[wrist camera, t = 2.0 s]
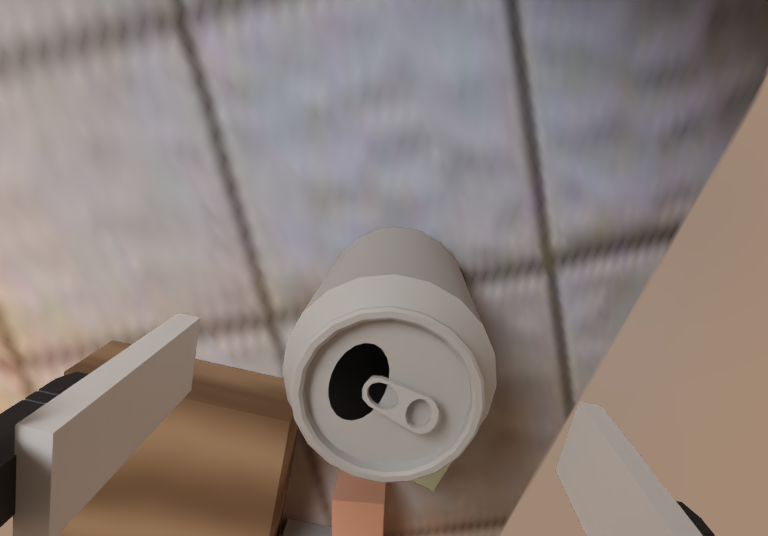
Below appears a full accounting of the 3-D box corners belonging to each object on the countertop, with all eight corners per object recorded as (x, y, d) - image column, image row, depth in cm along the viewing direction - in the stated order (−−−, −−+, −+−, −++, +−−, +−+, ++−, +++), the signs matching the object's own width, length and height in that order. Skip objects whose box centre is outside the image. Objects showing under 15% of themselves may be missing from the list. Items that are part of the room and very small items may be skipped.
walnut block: (112, 340, 28) (64, 371, 24) (306, 383, 28) (289, 421, 24) (102, 502, 31) (57, 553, 27) (276, 541, 31) (257, 597, 27)
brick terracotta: (339, 465, 29) (331, 500, 26) (386, 468, 29) (384, 504, 26) (338, 542, 31) (331, 582, 28) (383, 545, 31) (380, 586, 28)
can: (357, 204, 25) (311, 252, 13) (485, 253, 25) (550, 343, 14) (313, 324, 27) (239, 458, 15) (433, 369, 27) (450, 534, 15)
